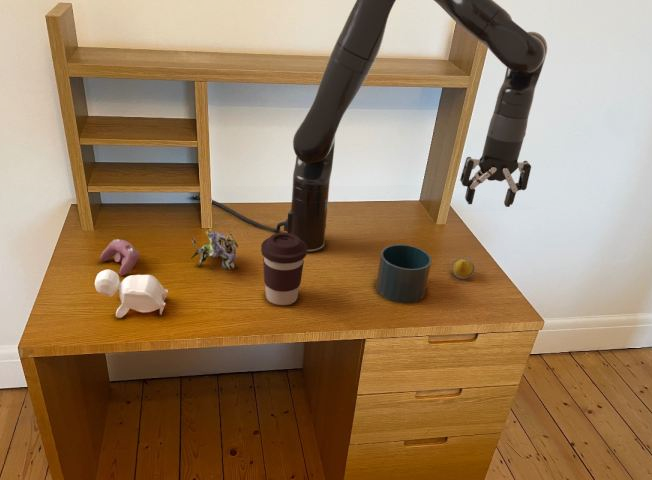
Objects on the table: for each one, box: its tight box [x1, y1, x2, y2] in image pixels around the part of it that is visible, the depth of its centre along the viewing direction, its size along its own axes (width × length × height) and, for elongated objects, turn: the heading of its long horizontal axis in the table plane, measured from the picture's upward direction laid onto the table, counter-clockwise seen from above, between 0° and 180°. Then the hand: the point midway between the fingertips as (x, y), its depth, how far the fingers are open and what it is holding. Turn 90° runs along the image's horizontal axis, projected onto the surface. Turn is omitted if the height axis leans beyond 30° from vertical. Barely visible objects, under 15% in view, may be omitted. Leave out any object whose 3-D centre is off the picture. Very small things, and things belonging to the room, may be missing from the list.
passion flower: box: [190, 227, 239, 272], centre depth 141 cm, size 11×11×12 cm
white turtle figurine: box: [94, 268, 169, 319], centre depth 125 cm, size 9×8×15 cm
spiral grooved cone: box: [451, 257, 475, 280], centre depth 144 cm, size 5×5×10 cm
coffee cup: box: [260, 232, 308, 306], centre depth 130 cm, size 10×10×15 cm
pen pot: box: [375, 243, 432, 304], centre depth 137 cm, size 12×12×9 cm
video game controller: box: [99, 238, 140, 277], centre depth 140 cm, size 10×5×7 cm, turn 47°
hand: (487, 204), depth 133 cm, fingers open, 8 cm apart
